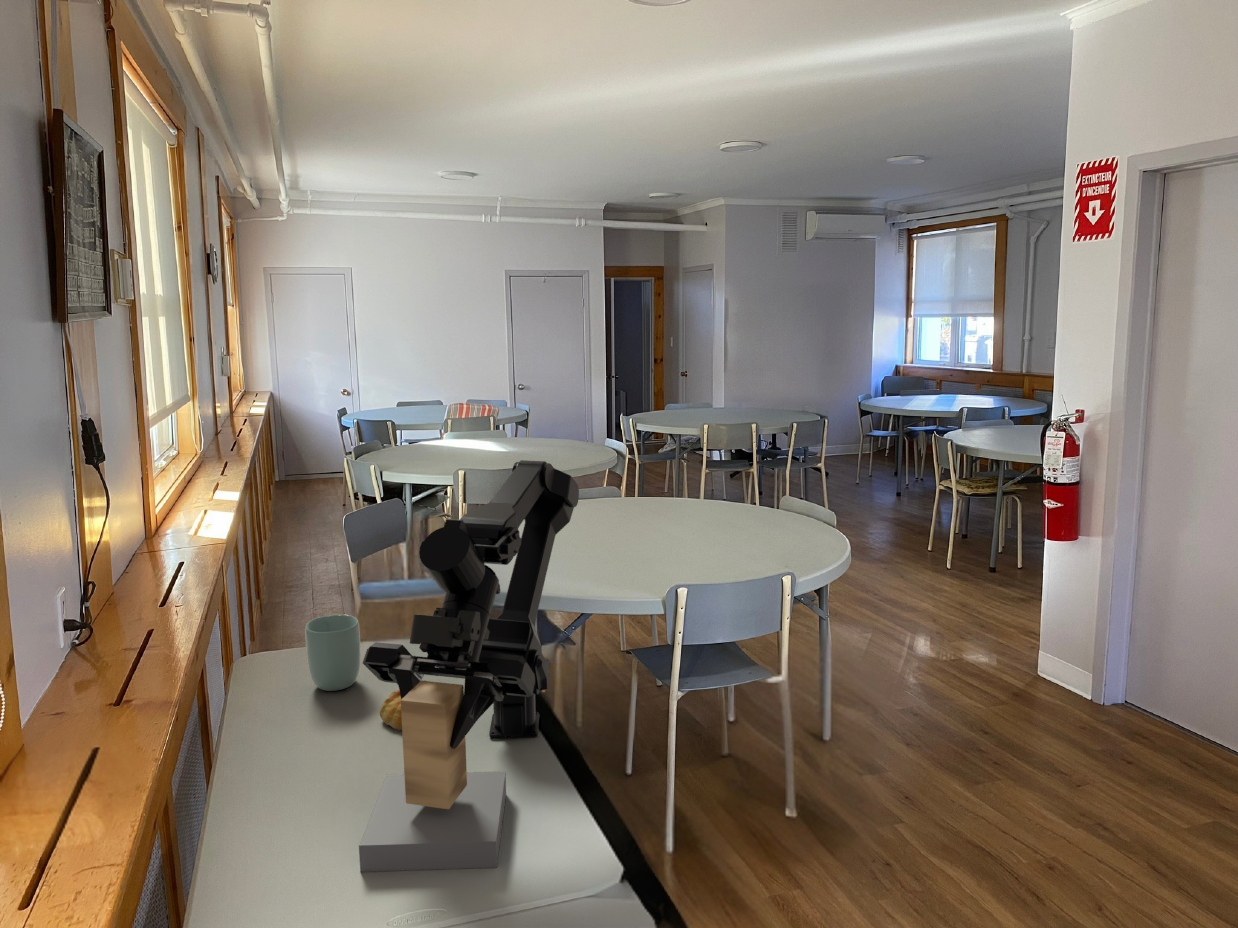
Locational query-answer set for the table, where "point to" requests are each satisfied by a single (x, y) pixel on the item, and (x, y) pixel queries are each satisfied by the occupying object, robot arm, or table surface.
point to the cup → (333, 651)
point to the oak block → (432, 745)
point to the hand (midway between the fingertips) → (429, 744)
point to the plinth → (435, 828)
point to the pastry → (392, 710)
